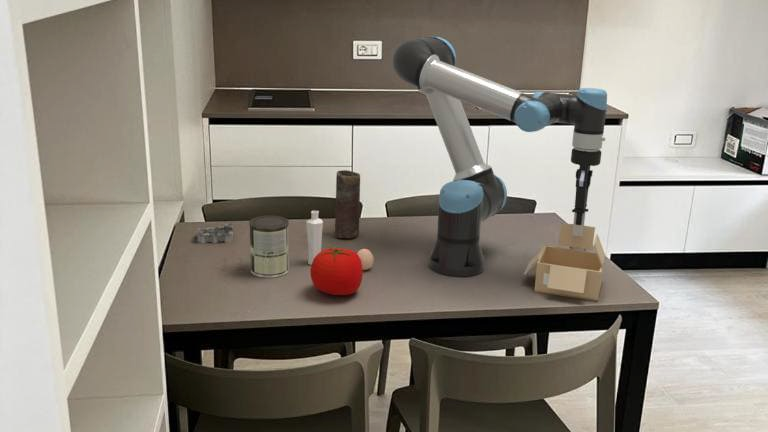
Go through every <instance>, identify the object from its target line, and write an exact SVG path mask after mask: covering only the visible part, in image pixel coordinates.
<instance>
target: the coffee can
mask: <svg viewBox="0 0 768 432" xmlns="http://www.w3.org/2000/svg"><path fill="white" fill-rule="evenodd" d="M248 225H249V240H250V241H249V243H250V245H249V246H250V272H251V274H252V275H253V276H255V277H258V278H264V279H268V278H269V279H270V278H271V279H272V278H279V277H282V276H284V275H287V274H288V273H289V270H290V268H289V219H288V218H286V217H285V216H284V217H283V216H280V215H273V214H272V215H270V214H269V215H260V216H256V217H252V218H251V219H250V220H249V221H248Z"/></svg>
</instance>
